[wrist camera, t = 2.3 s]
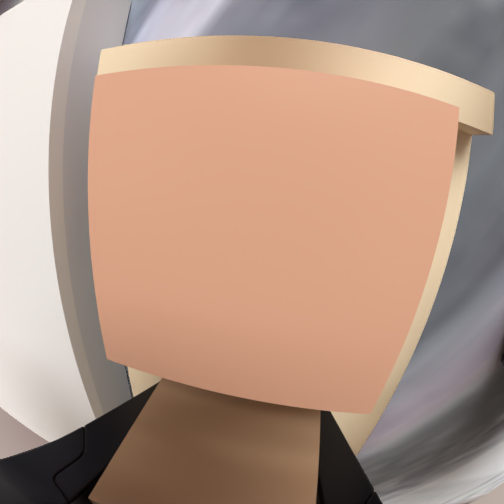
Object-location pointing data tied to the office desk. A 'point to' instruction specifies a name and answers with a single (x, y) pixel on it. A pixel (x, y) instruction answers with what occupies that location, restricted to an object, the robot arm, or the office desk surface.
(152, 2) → the office desk surface
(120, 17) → the white flat block
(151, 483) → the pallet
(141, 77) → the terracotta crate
